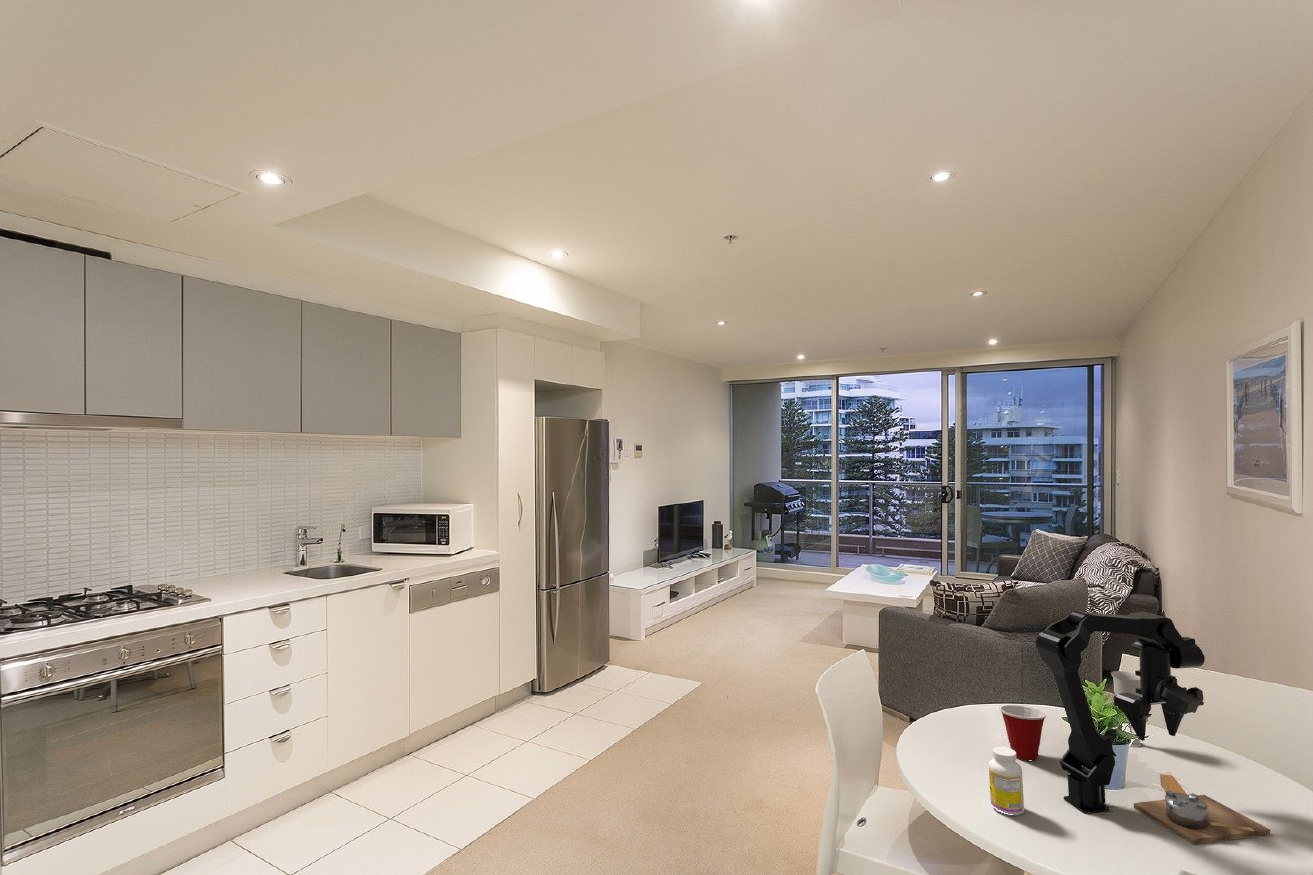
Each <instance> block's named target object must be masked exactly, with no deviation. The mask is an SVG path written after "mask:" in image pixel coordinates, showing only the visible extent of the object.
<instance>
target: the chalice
mask: <svg viewBox="0 0 1313 875" xmlns="http://www.w3.org/2000/svg"><path fill="white" fill-rule="evenodd" d="M1110 675H1111V676H1112V678H1113V693H1114V696H1115V695H1116V694H1120V693H1131V694H1134V695H1137V696H1140V697H1142V696H1141V694H1138V693H1136V688H1140V676H1137V675H1135V672H1130V671H1120V670H1114V671H1111V672H1110ZM1128 727H1129V728H1130V732H1131V733H1133V734H1135V732H1133V730H1132V729H1133V728H1132V726H1131V725H1129V726H1128ZM1130 747H1131V748H1140V747H1142V743H1141V740H1139V739H1135V740H1134V741H1133V742H1132V744H1131V746H1130Z"/></svg>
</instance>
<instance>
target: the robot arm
mask: <svg viewBox="0 0 1313 875" xmlns="http://www.w3.org/2000/svg"><path fill="white" fill-rule="evenodd" d="M1076 630H1077V631H1076ZM1074 631H1076V633H1075V634H1074V635H1073V636H1070V635H1067V634H1070V633H1072V632H1074ZM1094 632H1099V633H1100V632H1103V633H1112V634H1123V635H1137V636H1139V637H1143V638H1146V639H1149V640H1153V641H1148V640H1145V639H1143V638H1138V639H1136V641H1134V642H1132V643H1131V645H1130V648H1131V649H1134V650H1138V652H1139V654H1138V655H1139V670H1135V672H1134V674H1135V675H1137V676H1140V688H1136V693H1138V694H1141V697H1140V696H1137V695H1134V694H1131V693H1120V694H1116V695H1115V694H1114V696H1113V706H1115V707H1117V708H1118V710H1121V711H1122V713H1123V714H1124V716H1126V717H1127V719H1128V720H1129V722H1130V724H1131V726H1132V729H1133V731H1134V734H1136V735H1137V736H1140V737H1139V738H1138V739H1139V740H1140V741H1142V742H1145V739H1146V728H1147V720H1148V718H1150V717H1151V716H1152V713H1150V712H1151V710H1152V706H1154V705H1161V709H1162V713H1163V719H1164V722H1165V726H1166V728H1167V732H1168V735H1169V736H1171V737H1176V735H1177V733H1178V729H1179V727H1180V724H1181V723H1182V720H1183V719H1184V716H1185V715H1186V714H1189V713H1193V714H1195V713H1197V711H1198V708H1199V707H1200V706H1204V704H1205V702H1204V694H1203V690H1202V689H1201V688H1199V687H1197V686H1194V687H1189V688H1188V689H1187V687H1186V686H1185V687H1182V686H1180V685H1178V678H1177V677H1176V676H1175V675H1172V669H1176V670H1177V669H1192V668H1193V669H1195V668H1196V669H1197V668H1200V667H1202V666H1203V665H1204V663H1205V659H1206V656H1205V654H1204V653H1203V650H1202V649H1201V648H1200V646H1199V645H1198V644H1197V643H1196V638H1194V637H1193V638H1192V637H1189V636H1182V635H1181V633H1180V632H1179V631H1178V629H1177V628H1176V627H1175V624H1174V622H1173V620H1172V618H1170V617H1166V616H1162V615H1158V614H1154V613H1151V612H1147V611H1138V612H1137V611H1135V612H1131V613H1128V614H1124V615H1122V614H1112V613H1101V612H1089V611H1082V610H1073V611H1070V612H1069V613H1068V614H1067V615H1066V616H1065V617H1063V618H1061V619H1059V620H1057V621H1054V622H1051V623H1050V624H1049V625H1048V626H1047V627H1046V628H1044V630H1042V631H1041V632H1040V633H1038V635H1037V637H1036V639H1035V647H1036V649H1037V651H1038V653H1039V655H1040V658H1042V660H1043V662H1044V663H1045V664H1046V666H1048V667H1049V669H1050V670H1051V671H1052V673H1053V676H1054V680H1055V682H1056V683H1055V684H1056V685H1057V686H1056V687H1057V688H1058V692H1059V694H1060V695H1059V696H1060V699H1061V701H1062V704H1063V708H1064V711H1065V715H1066V718H1067V721H1068V724H1069V726H1070V727H1069V728H1070V733H1069V736H1068V738H1067V742H1068V749H1067V750H1066V751H1065V753H1064V754H1063V755H1062V757H1061V758H1060V759H1059V762H1058V763H1059V765H1060V768H1061V769H1062V770H1063V771H1065V772H1067V773H1068V774H1067V791H1068V792H1067V793H1068V795H1064V796H1063V800H1064V801H1066V802H1067V803H1069V804H1071V805H1072V806H1073V807H1075V808H1076V809H1078V810H1080V811H1081V812H1082V813H1084V814H1091V813H1100V812H1101V813H1102V812H1110V811H1111V807H1110V806H1109V805H1107V804H1106V801H1107V800H1106V786H1110V784H1111V780H1112V776H1113V772H1114V769H1115V766H1116V760H1115V757H1117V753H1116V752H1115V751H1114V748H1113V743H1112V740H1111V738H1109V737H1108V736H1106V735H1104V734H1102V733H1100V732H1099V731H1098V730H1097V727H1096V724H1095V720H1094V718H1093V715H1092V712H1091V709H1090V706H1089V702H1088V698H1087V696H1086V693H1085V690H1084V686H1083V683H1082V679H1081V676H1080V674H1079V671H1080V670H1079V669H1080V667H1081V663H1082V660H1083V659H1082V652H1083V651H1084V650H1085V649H1086V648H1088V646H1089V643H1090V639H1091V635H1092V634H1093V633H1094ZM1171 668H1172V669H1171ZM1126 717H1125V718H1126ZM1127 719H1126V720H1127Z"/></svg>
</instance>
